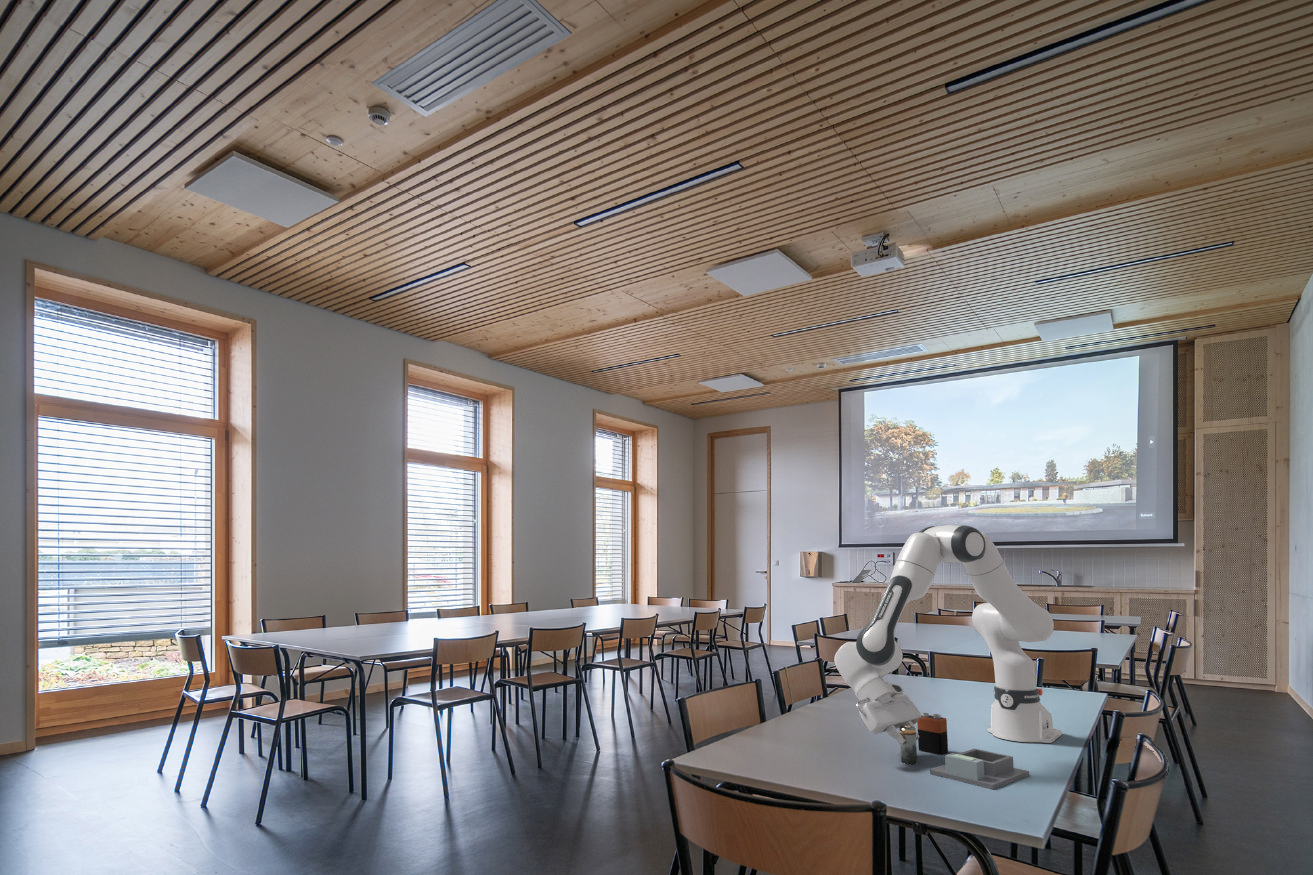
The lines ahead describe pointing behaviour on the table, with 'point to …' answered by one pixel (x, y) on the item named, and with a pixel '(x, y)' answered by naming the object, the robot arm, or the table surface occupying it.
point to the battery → (932, 734)
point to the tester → (980, 768)
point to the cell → (908, 745)
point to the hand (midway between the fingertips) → (910, 741)
